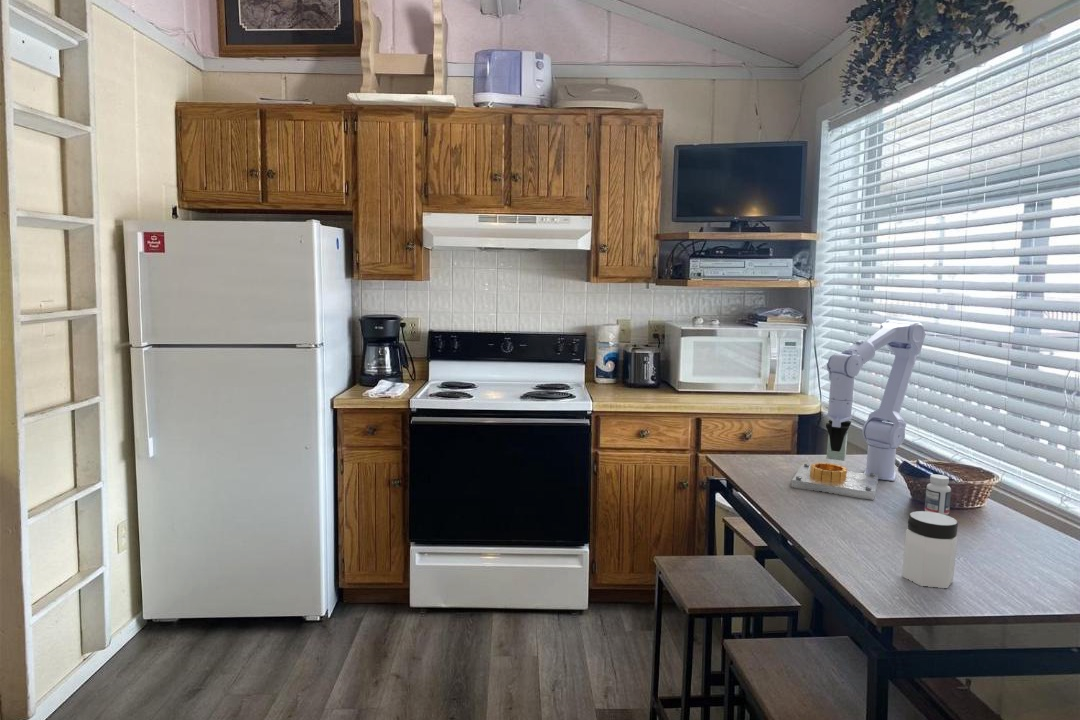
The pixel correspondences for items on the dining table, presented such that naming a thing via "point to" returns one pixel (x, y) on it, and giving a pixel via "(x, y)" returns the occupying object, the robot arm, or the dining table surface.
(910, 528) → the jar
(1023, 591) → the dining table surface
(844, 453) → the mint green square pillar
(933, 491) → the pill bottle
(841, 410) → the robot arm
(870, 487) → the bolted plate with ring
